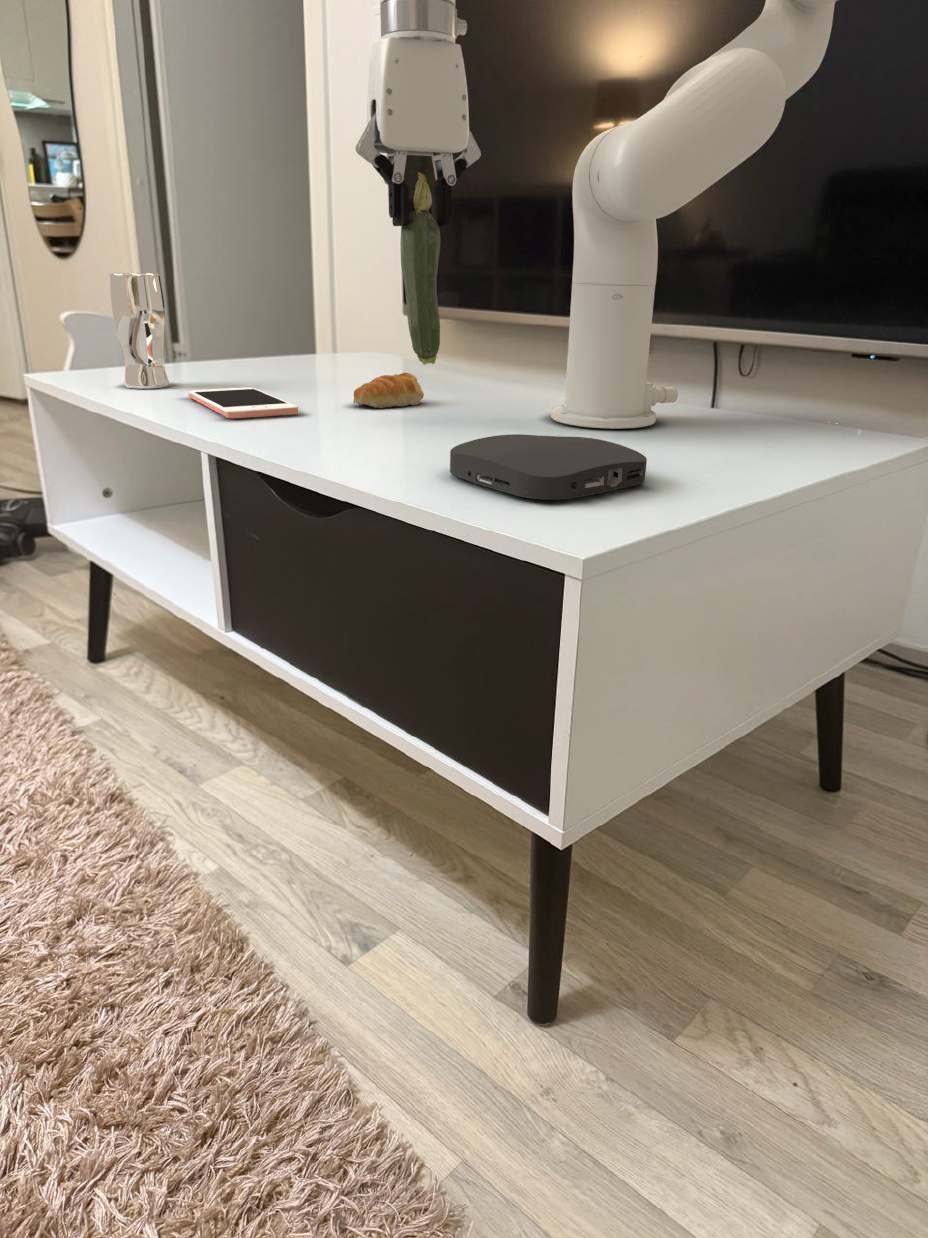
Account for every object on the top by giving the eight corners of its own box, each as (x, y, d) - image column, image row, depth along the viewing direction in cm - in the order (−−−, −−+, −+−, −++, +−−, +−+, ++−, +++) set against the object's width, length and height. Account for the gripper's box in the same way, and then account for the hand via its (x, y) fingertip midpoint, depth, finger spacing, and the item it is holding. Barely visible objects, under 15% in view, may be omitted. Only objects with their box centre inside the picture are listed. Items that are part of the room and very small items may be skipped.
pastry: (376, 411, 113) (376, 380, 111) (340, 405, 117) (339, 375, 115) (427, 403, 119) (427, 373, 118) (391, 398, 123) (391, 369, 122)
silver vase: (111, 388, 126) (97, 273, 121) (136, 381, 133) (124, 272, 127) (158, 390, 125) (146, 274, 120) (181, 383, 132) (170, 273, 126)
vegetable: (435, 368, 101) (434, 169, 94) (398, 367, 102) (394, 169, 94) (444, 363, 105) (443, 172, 98) (408, 362, 106) (405, 173, 98)
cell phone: (227, 419, 105) (226, 411, 104) (187, 397, 119) (186, 390, 119) (299, 414, 109) (299, 406, 109) (252, 393, 123) (252, 386, 123)
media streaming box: (549, 455, 91) (550, 425, 89) (663, 484, 80) (666, 450, 79) (432, 473, 82) (432, 440, 81) (542, 509, 71) (544, 471, 70)
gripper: (476, 42, 98) (474, 227, 105) (326, 27, 91) (336, 225, 98) (508, 28, 91) (505, 226, 98) (351, 11, 85) (359, 224, 92)
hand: (420, 223), depth 98 cm, fingers closed on vegetable, 4 cm apart
